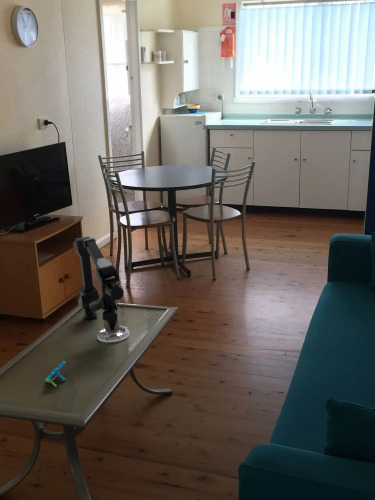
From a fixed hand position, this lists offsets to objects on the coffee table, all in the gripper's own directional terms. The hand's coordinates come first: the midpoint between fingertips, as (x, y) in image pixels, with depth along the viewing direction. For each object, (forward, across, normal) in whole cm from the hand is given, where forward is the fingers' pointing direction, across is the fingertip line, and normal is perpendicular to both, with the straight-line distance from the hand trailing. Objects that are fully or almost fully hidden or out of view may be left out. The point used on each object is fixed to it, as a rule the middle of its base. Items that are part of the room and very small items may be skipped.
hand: (112, 327), depth 249 cm
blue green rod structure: (+4, +35, -21) cm, 41 cm away
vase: (+2, 0, 0) cm, 2 cm away
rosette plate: (+4, 0, 0) cm, 4 cm away
